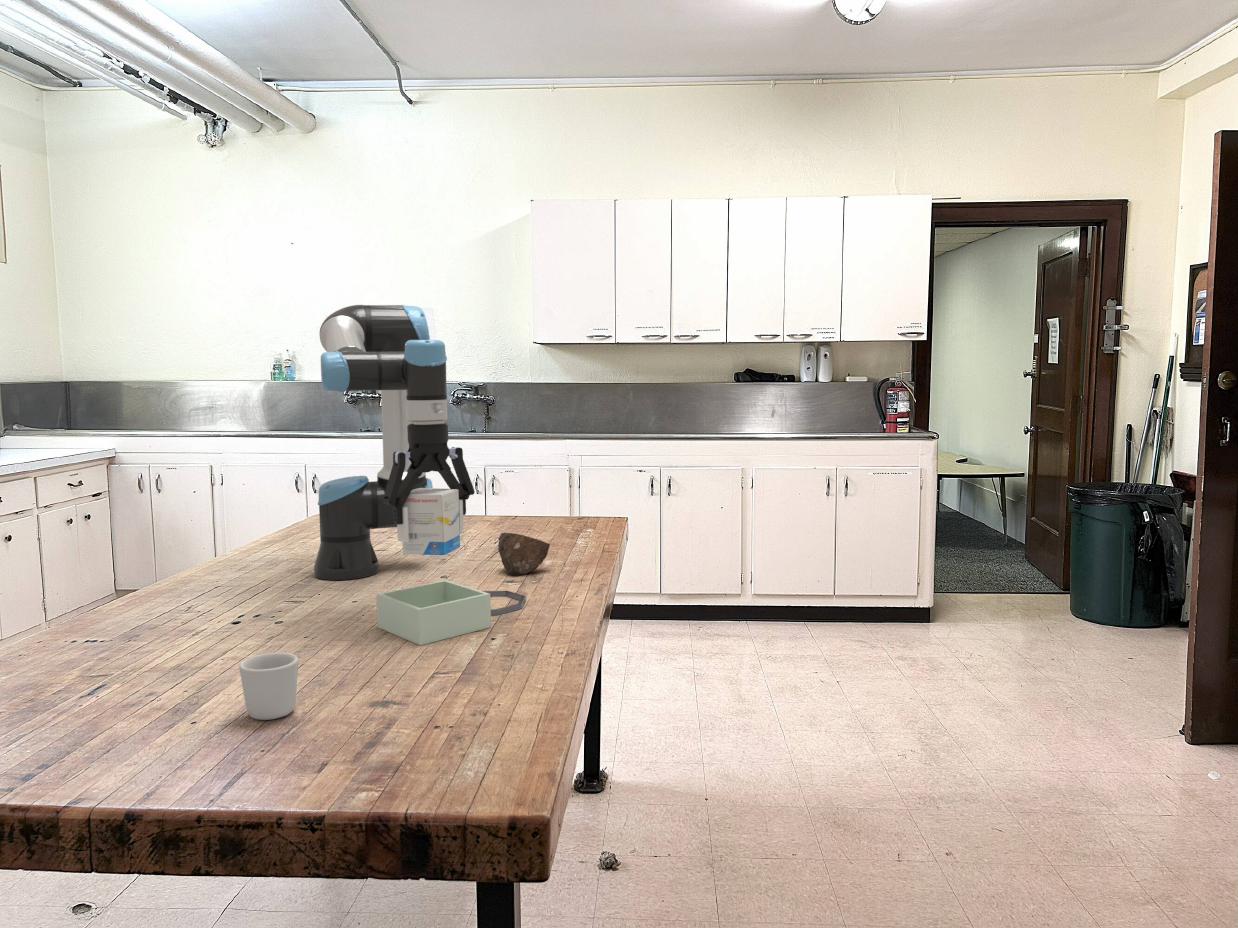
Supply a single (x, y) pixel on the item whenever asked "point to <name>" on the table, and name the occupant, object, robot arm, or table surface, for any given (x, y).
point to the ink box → (432, 521)
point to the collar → (508, 608)
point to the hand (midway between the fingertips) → (431, 536)
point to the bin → (433, 611)
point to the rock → (521, 553)
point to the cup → (269, 684)
